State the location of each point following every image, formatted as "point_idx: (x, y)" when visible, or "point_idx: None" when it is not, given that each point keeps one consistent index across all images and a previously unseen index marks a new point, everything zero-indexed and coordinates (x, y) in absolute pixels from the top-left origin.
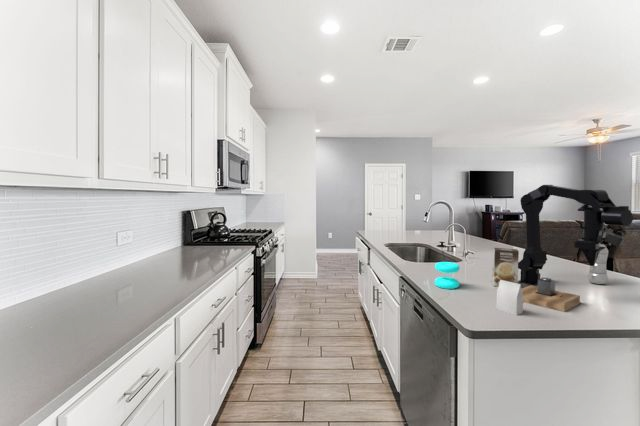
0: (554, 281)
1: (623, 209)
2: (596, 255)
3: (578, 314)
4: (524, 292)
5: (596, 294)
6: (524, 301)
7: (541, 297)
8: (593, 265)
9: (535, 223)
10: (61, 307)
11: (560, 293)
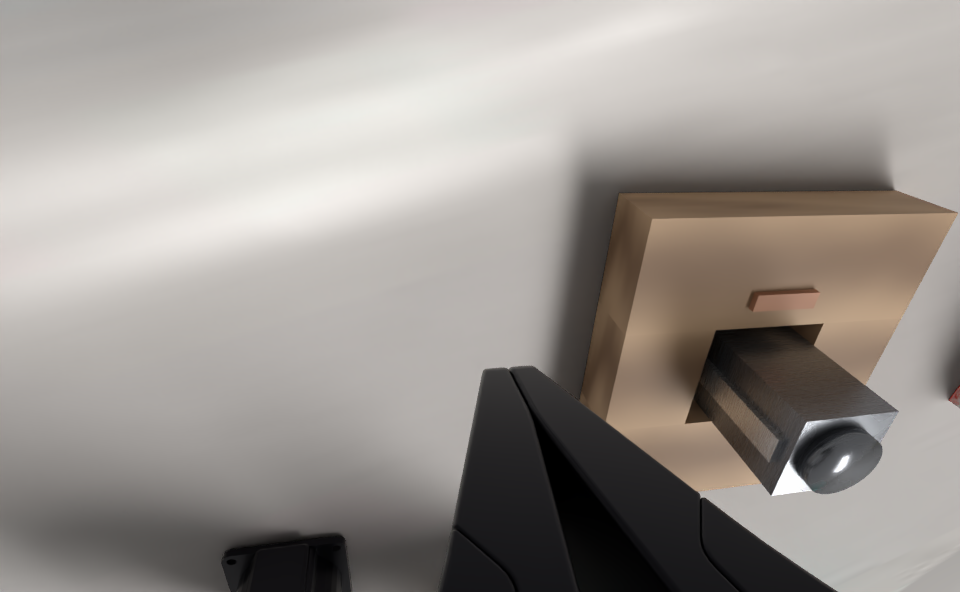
0: (810, 415)
1: None
2: (697, 571)
3: (910, 111)
4: None
5: (134, 202)
6: None
7: (877, 348)
8: (538, 372)
9: None
10: None
11: (688, 326)
